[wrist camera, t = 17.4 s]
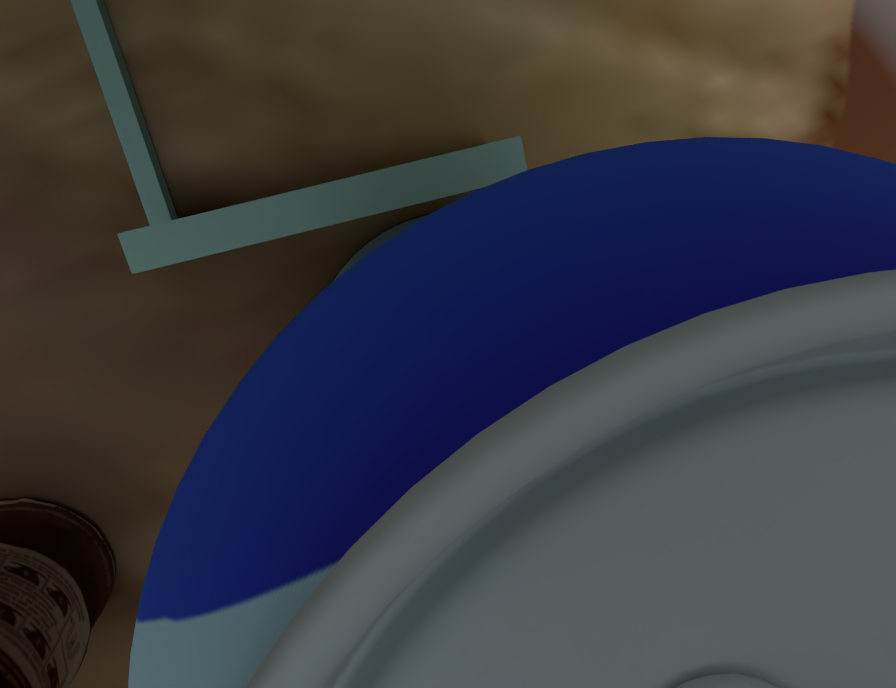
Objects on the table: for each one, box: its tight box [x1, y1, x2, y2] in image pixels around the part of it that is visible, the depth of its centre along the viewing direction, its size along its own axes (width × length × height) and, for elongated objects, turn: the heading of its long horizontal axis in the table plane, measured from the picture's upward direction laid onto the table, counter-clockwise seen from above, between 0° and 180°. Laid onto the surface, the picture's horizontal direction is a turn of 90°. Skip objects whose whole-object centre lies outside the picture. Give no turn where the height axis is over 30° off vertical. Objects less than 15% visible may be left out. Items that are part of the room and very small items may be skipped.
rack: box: [70, 0, 528, 274], centre depth 21 cm, size 12×13×6 cm
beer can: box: [128, 137, 896, 688], centre depth 11 cm, size 8×8×16 cm
